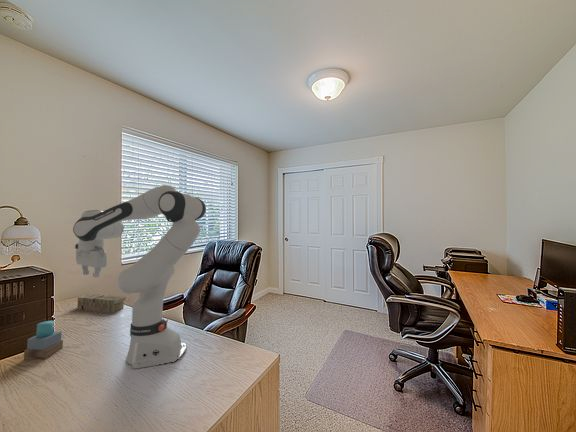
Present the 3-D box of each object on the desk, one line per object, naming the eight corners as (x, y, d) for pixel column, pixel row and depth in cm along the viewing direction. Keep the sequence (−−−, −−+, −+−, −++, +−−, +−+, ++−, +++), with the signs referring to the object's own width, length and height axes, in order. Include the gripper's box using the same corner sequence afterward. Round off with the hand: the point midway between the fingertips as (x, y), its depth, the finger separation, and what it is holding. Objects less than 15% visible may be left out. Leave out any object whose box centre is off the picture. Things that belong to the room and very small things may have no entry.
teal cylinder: (56, 332, 102) (57, 320, 102) (46, 337, 97) (46, 325, 97) (43, 332, 101) (44, 320, 101) (32, 338, 96) (33, 325, 96)
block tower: (75, 310, 148) (114, 313, 142) (75, 297, 148) (114, 299, 142) (88, 306, 155) (125, 308, 150) (88, 293, 156) (125, 295, 150)
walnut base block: (62, 349, 103) (62, 339, 103) (46, 359, 95) (46, 349, 95) (42, 349, 102) (42, 340, 102) (23, 360, 94) (24, 350, 94)
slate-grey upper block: (61, 341, 102) (61, 331, 102) (43, 349, 95) (44, 339, 95) (45, 340, 102) (45, 331, 102) (27, 349, 95) (27, 339, 95)
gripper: (111, 246, 106) (110, 277, 105) (89, 243, 115) (88, 272, 115) (94, 247, 100) (93, 280, 100) (73, 244, 110) (72, 274, 109)
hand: (90, 275), depth 108 cm, fingers open, 8 cm apart
